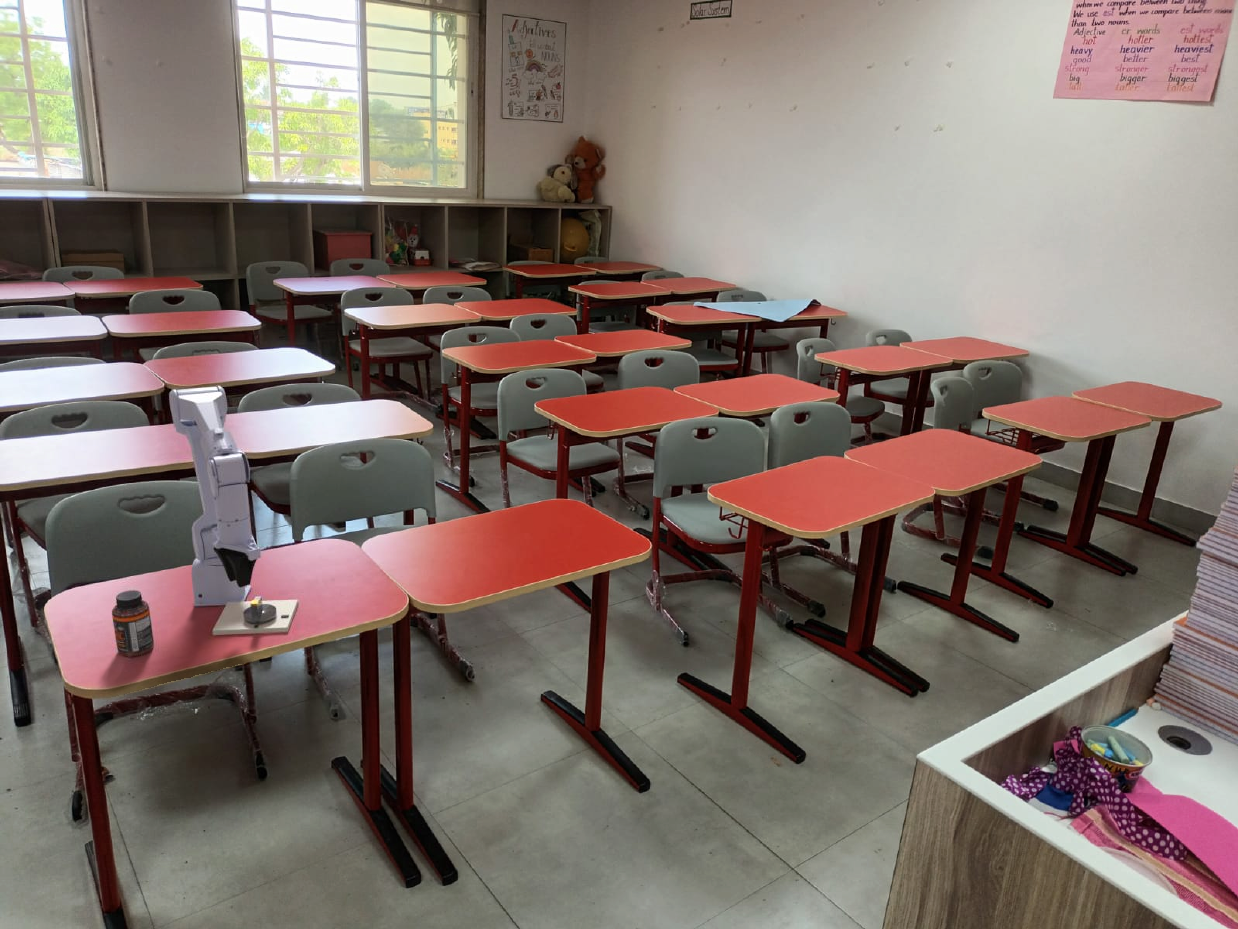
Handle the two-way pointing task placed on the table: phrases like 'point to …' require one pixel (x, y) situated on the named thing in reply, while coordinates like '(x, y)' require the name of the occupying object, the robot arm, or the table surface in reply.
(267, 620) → the dial
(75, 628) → the table surface
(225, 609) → the dial plate
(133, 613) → the supplement bottle
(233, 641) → the table surface
